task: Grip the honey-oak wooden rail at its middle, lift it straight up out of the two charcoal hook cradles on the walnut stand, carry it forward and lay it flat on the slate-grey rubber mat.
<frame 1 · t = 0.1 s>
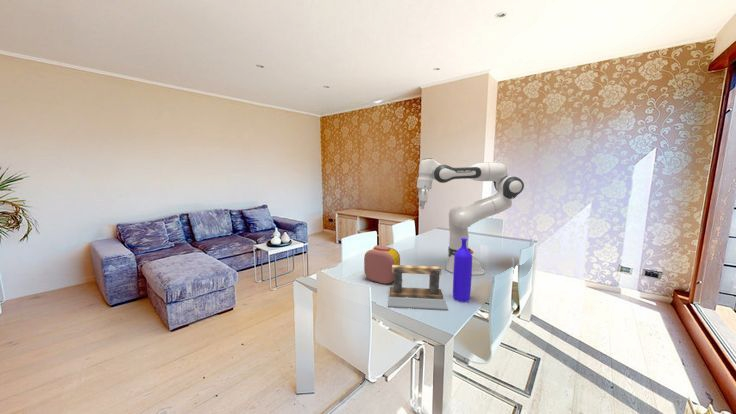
hand: (421, 207, 168), 39 cm above the table, tool pointing down, fingers open, 8 cm apart
rail: (416, 272, 137), point 11 cm above the table, touching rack
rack: (415, 294, 139), on the table
alarm clock: (381, 280, 156), on the table
bottle: (461, 298, 134), on the table
mat: (416, 304, 128), on the table
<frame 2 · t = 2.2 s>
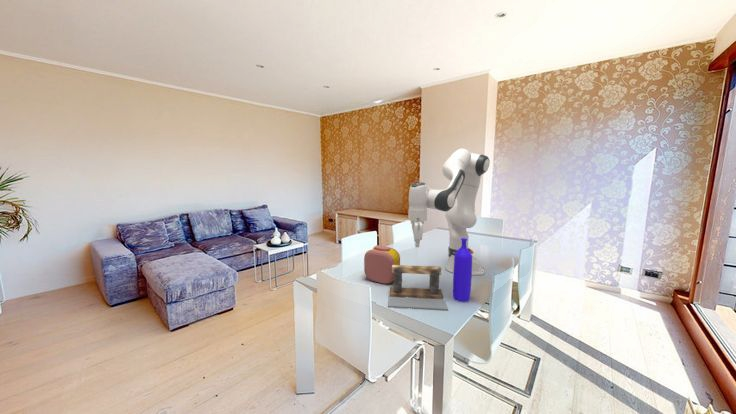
hand: (416, 244, 135), 26 cm above the table, tool pointing down, fingers open, 8 cm apart
nothing on the table moved.
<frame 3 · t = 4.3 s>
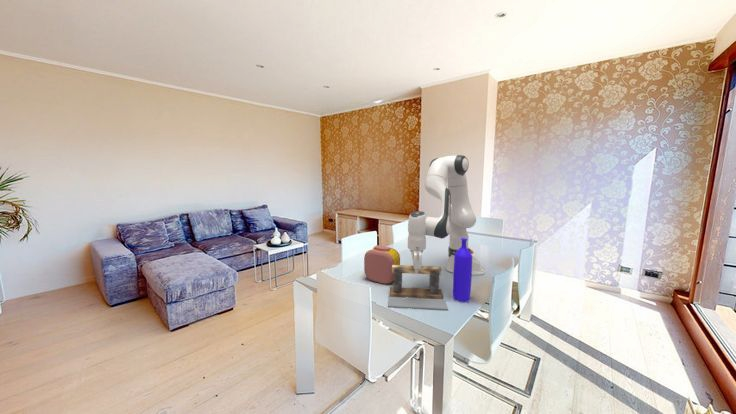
hand: (416, 271, 137), 12 cm above the table, tool pointing down, fingers closed on rail, 3 cm apart
rail: (416, 272, 137), point 11 cm above the table, touching gripper, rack
everything else where it was.
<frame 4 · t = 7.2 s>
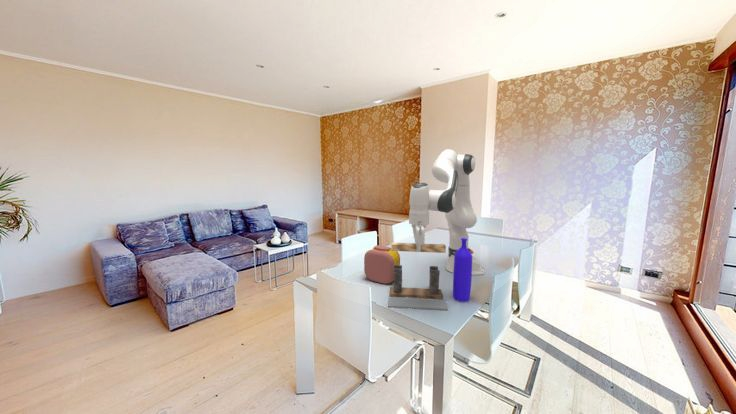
hand: (418, 249, 124), 27 cm above the table, tool pointing down, fingers closed on rail, 3 cm apart
rail: (417, 250, 125), point 26 cm above the table, touching gripper
everything else where it was.
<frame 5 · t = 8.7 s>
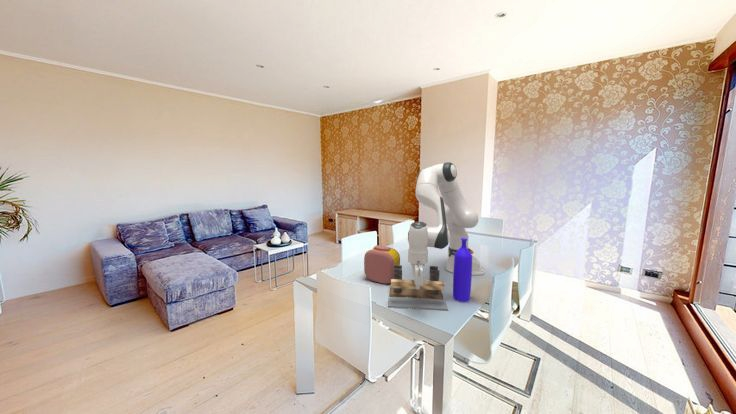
hand: (417, 286, 127), 9 cm above the table, tool pointing down, fingers closed on rail, 3 cm apart
rail: (416, 287, 127), point 8 cm above the table, touching gripper
everything else where it was.
when the fingers open (3 cm above the table, at t = 10.2 s): rail drops 2 cm, resting on mat.
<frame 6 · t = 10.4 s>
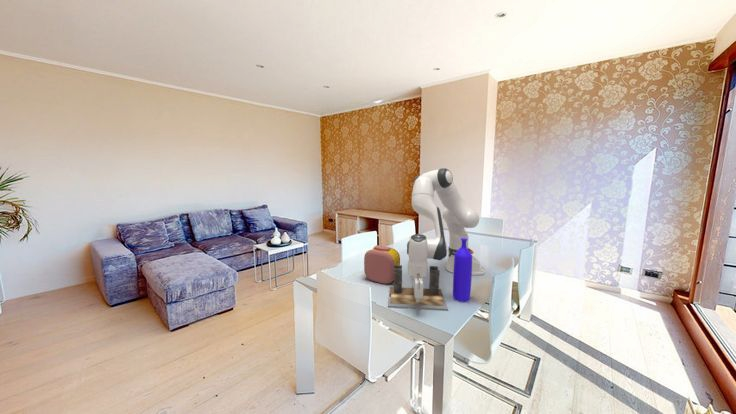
hand: (417, 298, 128), 3 cm above the table, tool pointing down, fingers open, 5 cm apart
rail: (416, 302, 128), point 1 cm above the table, touching mat
everything else where it was.
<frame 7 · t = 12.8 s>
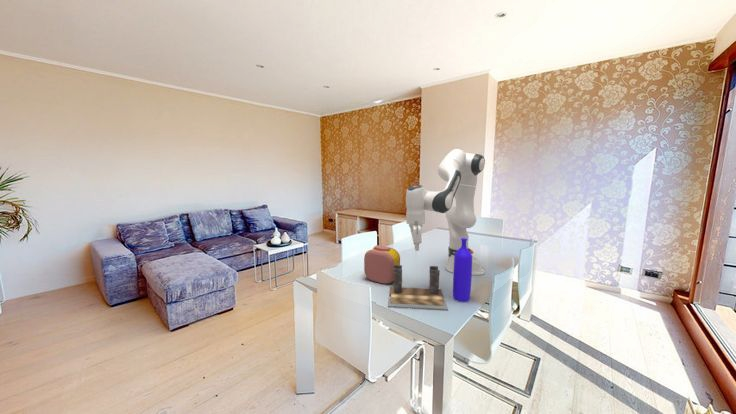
hand: (416, 247, 134), 25 cm above the table, tool pointing down, fingers open, 8 cm apart
nothing on the table moved.
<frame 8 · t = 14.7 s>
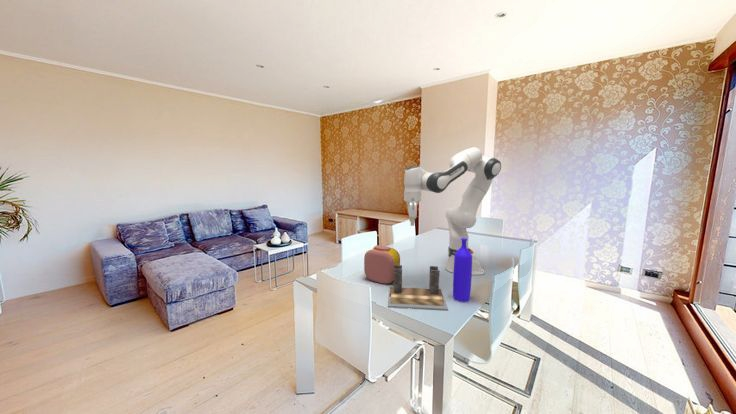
hand: (411, 223, 145), 34 cm above the table, tool pointing down, fingers open, 8 cm apart
nothing on the table moved.
at the end: rail inside the target area on the mat (0.1 cm from its centre), point 0.8 cm above the mat's base; rail tilted 0°; the gripper is holding nothing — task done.
